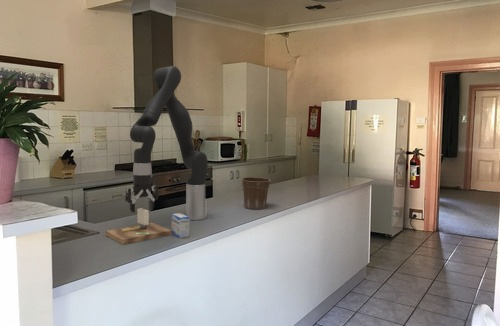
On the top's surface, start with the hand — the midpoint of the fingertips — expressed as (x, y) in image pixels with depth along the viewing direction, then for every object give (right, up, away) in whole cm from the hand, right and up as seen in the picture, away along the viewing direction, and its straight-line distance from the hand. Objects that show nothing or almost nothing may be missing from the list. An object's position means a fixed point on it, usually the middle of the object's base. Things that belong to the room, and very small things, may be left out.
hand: (142, 210), depth 178 cm
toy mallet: (-3, -8, -2) cm, 8 cm away
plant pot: (+49, -5, +57) cm, 75 cm away
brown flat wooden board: (-1, -10, -2) cm, 10 cm away
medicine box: (+16, -10, -1) cm, 19 cm away
